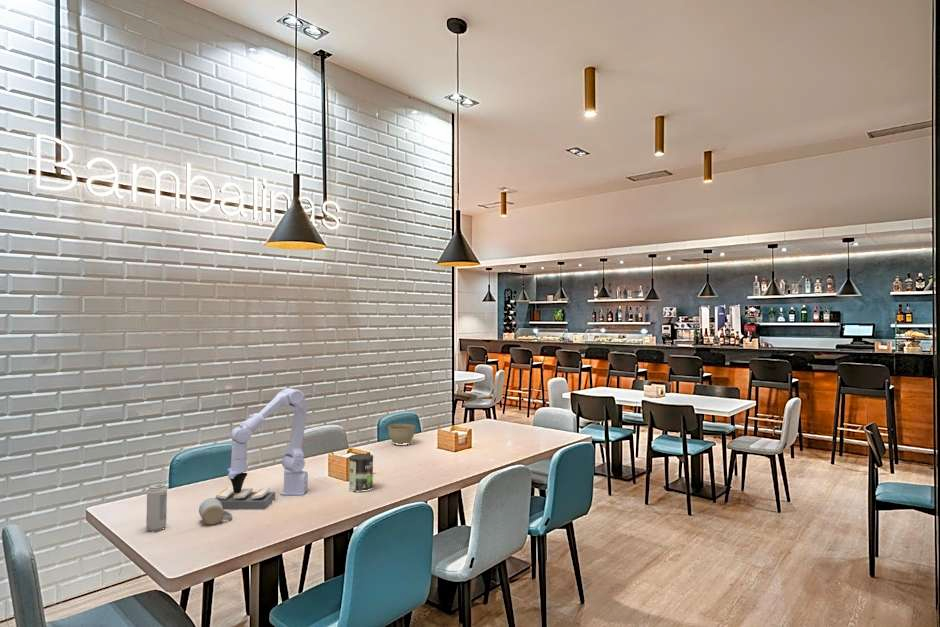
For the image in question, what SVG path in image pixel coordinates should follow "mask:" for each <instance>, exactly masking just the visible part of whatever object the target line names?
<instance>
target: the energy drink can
mask: <svg viewBox="0 0 940 627" xmlns="http://www.w3.org/2000/svg"><path fill="white" fill-rule="evenodd" d="M167 495H168V488H167V487H166V484H165V483H154V484H151V485H149V486H148V489H147V492H146V522H145V523H146V526H145V527H146V529H147V530H148V532H150V531H155V532H159V530H160V531H162V529H163V528H164V529H165V527H166V526H167V513H168V512H167V511H168V510H167V509H168V508H167V507H168V506H167V504H168V503H167V501H168V500H167V499H168V498H167V497H168V496H167ZM164 529H163V530H164Z"/></svg>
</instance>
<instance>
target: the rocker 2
mask: <svg viewBox="0 0 940 627" xmlns="http://www.w3.org/2000/svg"><path fill="white" fill-rule="evenodd" d="M256 492H257V493H255V494H254V495H253V496H252V499H256V498H257V499H258V498H260V497H263V496H264V495H265V494H266V493H267V492H271V488H270V487H265V488H262V489H259V490H258V491H256Z"/></svg>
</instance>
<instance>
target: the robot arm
mask: <svg viewBox="0 0 940 627" xmlns="http://www.w3.org/2000/svg"><path fill="white" fill-rule="evenodd" d="M305 397H306V395H305V394H304V393H303V391H301V390H300V389H295V388H291V387H284V388H283V389H282V390H281V391H279V392H277V394H276V395H275V397H274V398H273V399H272V400H270V401H269V403H267V405H265V406H264V408H262V409H261V410H260V411H259V412H255V413H253V414H251V413H250V414H249V415H248V417H247V419H246V420H244V422H241V423H240V424H239V426H237V427H234V428H233V429H232V430H231V433H230V434H229V437H230V439H231V440H232V442H231V443H232V445H231V455H230V458H231V460H230V467H229V468H227V472H229V473H228V474H227V475H228V476H227V479H228V480H230V482H231V485H232V489H233V491H234V493H239V492H241V490H242V488H243V484H244V481H245V479H246V477H247V476H248V473H247V471H248V469H249V464H247V461H248V448H249V446H248V444H249V441H250V440H251V437H252V435H253V434H254V433H255V432H256V431H257V430H258V429H259V428H261V427H262V426H263V425H264V424H265V421H266V420H265V419H267V418H269V417H270V415H271V414H273V413H274V412H275V411H276V410H277V409H279V408H280V407H284V406H289V407H290V408H291V409H292V410H293V417H292V423H291V429H290V436H289V442H288V447H287V448H286V450H285V452H284V456H283V457H282V459H281V466H282V467H283V468H284V469H283V491H282V492H281V493H280V496H303V495H305V494H306V492H307V491H308V490H309V488H308V486H309V485H308V484H309V480H308V479H309V478H308V477H309V473H308V471H306V470H304V468H305V465H306V462H305V454H304V451H303V442H304V441H303V440H304V435H305V429H306V422H307V416H308V415H307V414H308V410H309V409H308V408H309V406H308V403H307V401H306V398H305Z"/></svg>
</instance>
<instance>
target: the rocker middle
mask: <svg viewBox="0 0 940 627" xmlns="http://www.w3.org/2000/svg"><path fill="white" fill-rule="evenodd" d="M253 489H254V488H253V487H252V488H251V487H250V488H249V487H248V488H243V489H241V492H239V493H237V494H236V495H234V499H235V498H238V499H240V498H244V497H246V496H247V495H248V494H249V493H251V492H254V491H253Z"/></svg>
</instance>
